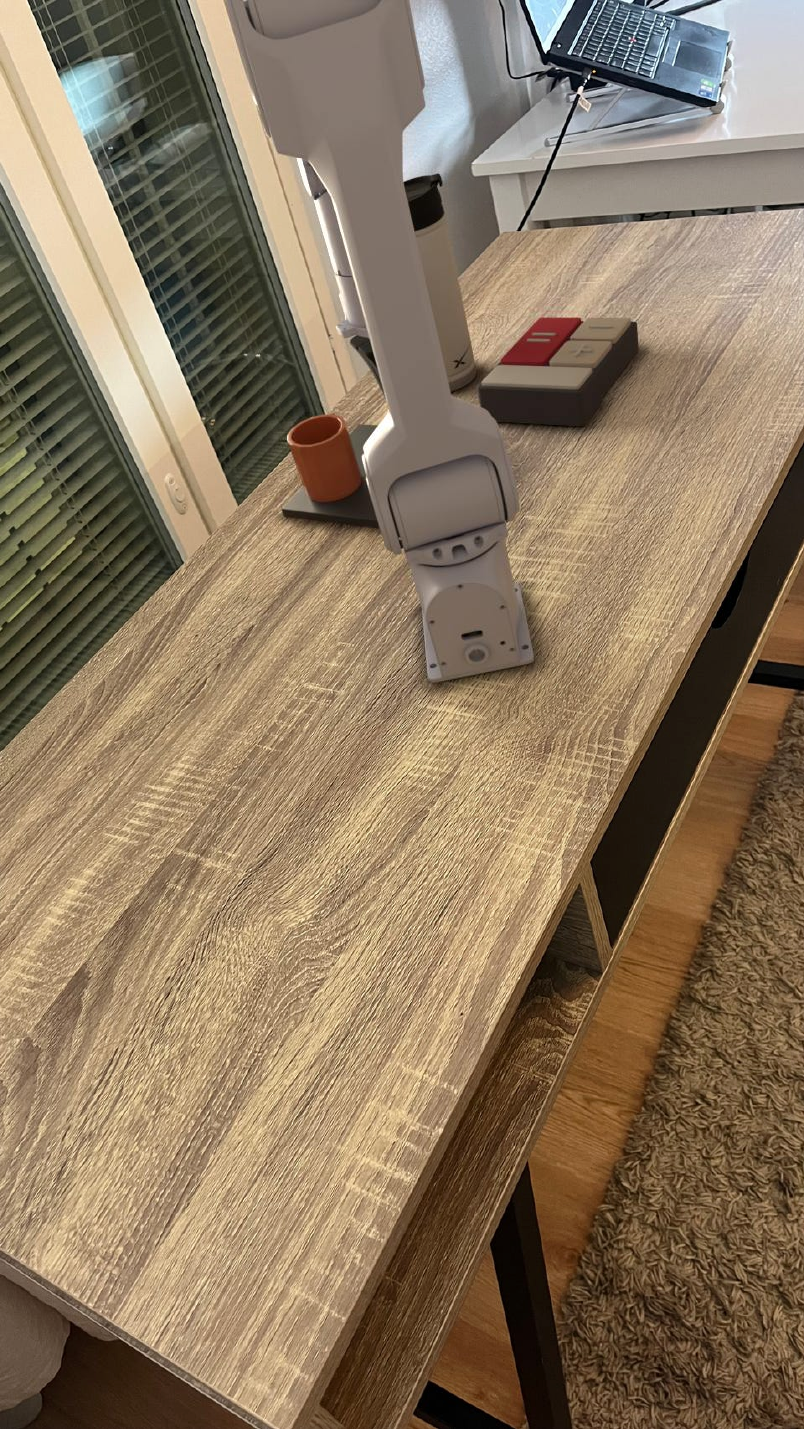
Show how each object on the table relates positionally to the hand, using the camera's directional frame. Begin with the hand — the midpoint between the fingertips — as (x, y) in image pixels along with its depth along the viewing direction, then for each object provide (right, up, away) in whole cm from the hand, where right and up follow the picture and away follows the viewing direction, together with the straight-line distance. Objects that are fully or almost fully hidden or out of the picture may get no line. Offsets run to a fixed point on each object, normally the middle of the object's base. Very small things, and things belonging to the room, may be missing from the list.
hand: (403, 405), depth 101 cm
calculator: (+16, +4, +7) cm, 18 cm away
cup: (-7, -7, +2) cm, 10 cm away
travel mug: (+5, +7, +14) cm, 16 cm away
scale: (-3, -6, +3) cm, 8 cm away
